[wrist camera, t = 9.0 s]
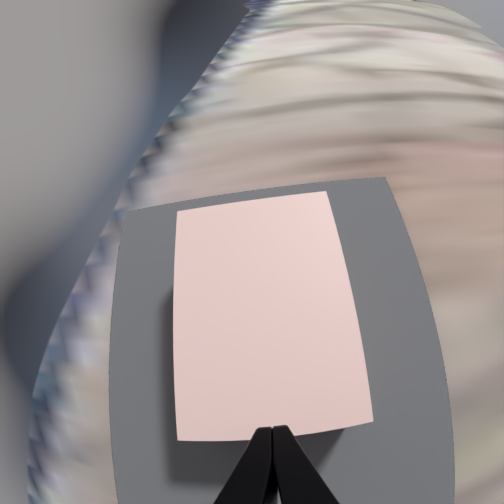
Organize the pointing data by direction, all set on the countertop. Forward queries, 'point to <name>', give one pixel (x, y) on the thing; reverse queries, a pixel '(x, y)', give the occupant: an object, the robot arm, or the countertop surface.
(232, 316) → the blush block
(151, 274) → the charcoal mat
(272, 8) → the countertop surface
